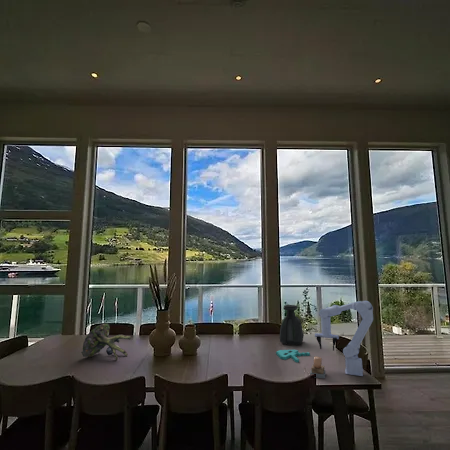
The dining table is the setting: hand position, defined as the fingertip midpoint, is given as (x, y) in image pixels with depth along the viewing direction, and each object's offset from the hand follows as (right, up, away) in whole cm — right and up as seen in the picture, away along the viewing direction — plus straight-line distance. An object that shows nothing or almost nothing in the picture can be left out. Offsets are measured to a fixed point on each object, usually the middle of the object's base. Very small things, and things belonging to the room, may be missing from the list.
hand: (327, 349), depth 186 cm
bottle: (-10, -19, +56) cm, 60 cm away
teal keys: (-19, -14, +21) cm, 31 cm away
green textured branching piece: (-148, -15, +23) cm, 151 cm away
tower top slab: (-11, -7, -15) cm, 19 cm away
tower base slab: (-11, -9, -15) cm, 21 cm away
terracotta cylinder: (-11, -4, -15) cm, 19 cm away
